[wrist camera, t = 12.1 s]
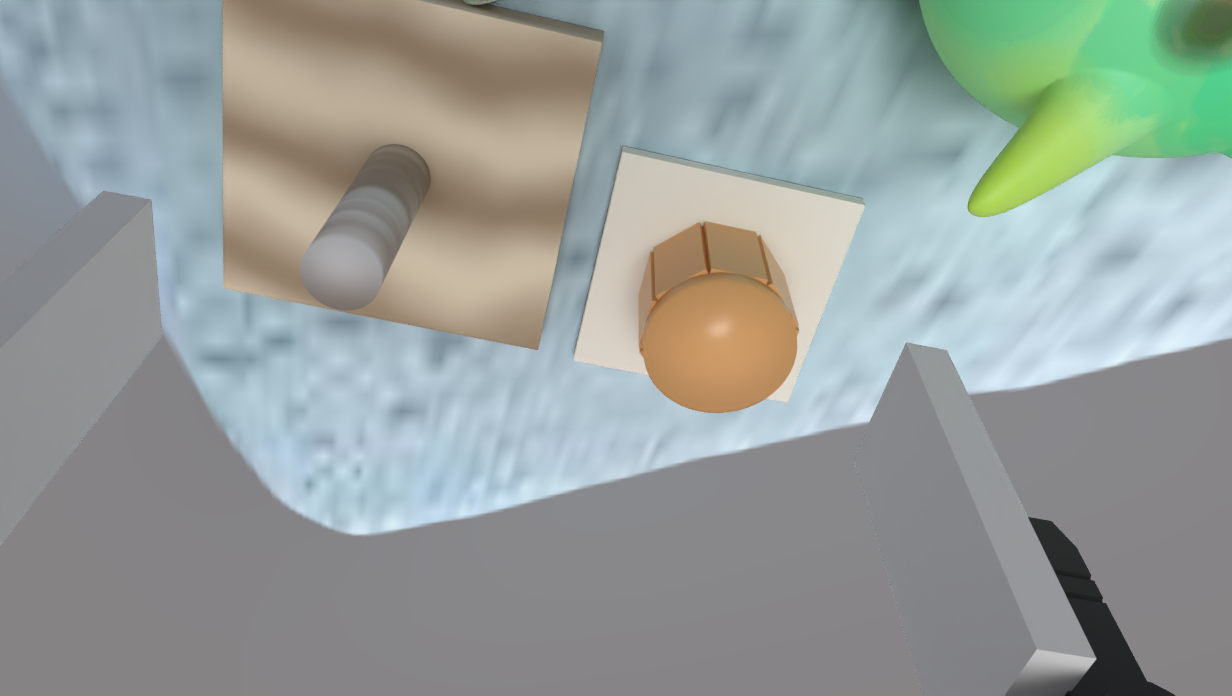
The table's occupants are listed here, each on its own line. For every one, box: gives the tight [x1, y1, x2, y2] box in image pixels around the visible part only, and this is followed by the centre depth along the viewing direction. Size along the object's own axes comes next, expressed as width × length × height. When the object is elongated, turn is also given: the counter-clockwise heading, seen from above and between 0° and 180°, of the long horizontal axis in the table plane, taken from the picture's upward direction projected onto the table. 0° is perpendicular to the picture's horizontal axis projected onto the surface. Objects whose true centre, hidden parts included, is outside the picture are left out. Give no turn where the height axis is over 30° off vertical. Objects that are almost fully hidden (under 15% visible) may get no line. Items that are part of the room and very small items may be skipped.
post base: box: [222, 0, 604, 350], centre depth 40 cm, size 16×16×12 cm
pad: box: [573, 146, 865, 403], centre depth 48 cm, size 12×12×1 cm
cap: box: [638, 221, 799, 413], centre depth 45 cm, size 7×7×6 cm
